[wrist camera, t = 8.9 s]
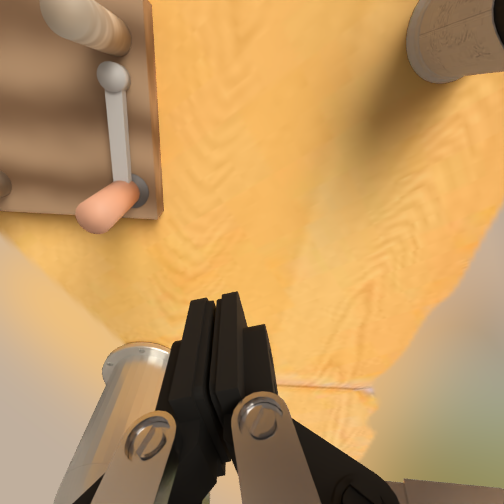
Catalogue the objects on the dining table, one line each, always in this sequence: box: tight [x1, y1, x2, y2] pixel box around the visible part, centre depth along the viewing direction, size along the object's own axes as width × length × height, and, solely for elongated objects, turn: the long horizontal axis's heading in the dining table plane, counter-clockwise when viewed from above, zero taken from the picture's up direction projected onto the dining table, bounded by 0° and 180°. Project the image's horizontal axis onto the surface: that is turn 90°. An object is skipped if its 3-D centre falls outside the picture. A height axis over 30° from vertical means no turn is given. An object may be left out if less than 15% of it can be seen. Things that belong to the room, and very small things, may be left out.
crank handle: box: [75, 61, 140, 234], centre depth 25 cm, size 12×3×8 cm, turn 174°
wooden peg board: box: [0, 0, 164, 219], centre depth 25 cm, size 19×18×11 cm
